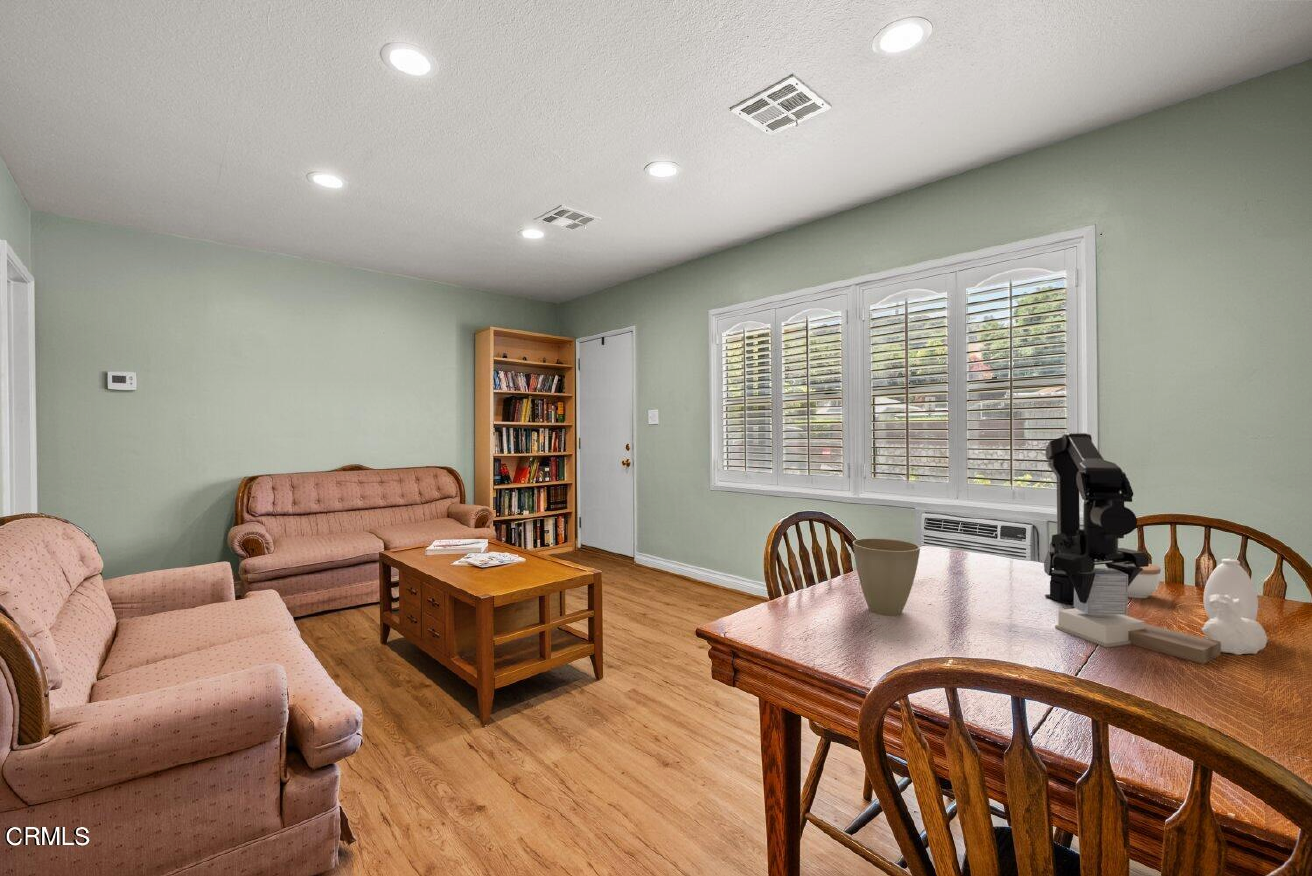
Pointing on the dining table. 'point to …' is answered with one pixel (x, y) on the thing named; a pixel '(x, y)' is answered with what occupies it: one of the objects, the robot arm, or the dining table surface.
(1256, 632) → the duck figurine
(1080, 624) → the block
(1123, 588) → the medicine box
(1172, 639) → the grey-brown long grooved block
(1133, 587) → the lidded jar
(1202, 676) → the dining table surface
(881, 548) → the plant pot
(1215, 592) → the sauce bottle
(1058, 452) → the robot arm
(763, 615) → the dining table surface
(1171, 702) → the dining table surface
